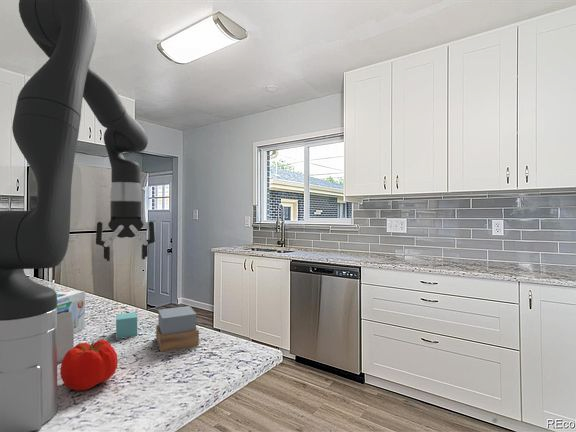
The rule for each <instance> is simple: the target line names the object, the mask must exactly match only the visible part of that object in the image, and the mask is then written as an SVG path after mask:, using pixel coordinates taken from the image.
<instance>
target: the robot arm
mask: <svg viewBox="0 0 576 432" xmlns="http://www.w3.org/2000/svg"><path fill="white" fill-rule="evenodd" d="M18 12H19V16H20V20H21V22H22V24H23V26H24V28H25V29H26V31H27V33H28V34H29V35H30V37H31V38H32V40H33V41H34V42H35V44H36V45H37V46H38V47H39V48H40V50H42V52H43V53H44V54H45V55H46V57H47V58H49V59H48V60H46V62H45V63H44V64H43V65H42V66H41V67H40V68H39V69H38V70H37V71H36V72H34V74H33V75H32V76H31V77H30V78H29V79H28V80H27V81H26V82H25V84H24V86H23V87H22V88H21V90H20V91H19V93H18V96H17V99H16V104H15V109H14V115H13V119H12V127H11V128H12V130H11V131H12V135H13V138H14V141H15V143H16V145H17V147H18V149H19V152H21V154H22V156H23V157H24V158H25V160H26V162H27V163H28V165H29V168H30V169H31V171H32V172H33V175H34V177H35V180H36V181H35V182H36V186H37V187H36V188H37V189H36V191H37V194H36V195H37V196H36V205H35V209H34V210H0V432H33V431H38V430H41V429H42V426H43V425H45V424H46V422H48V421H49V420H51V419H52V418H53V417H54V416H55V415H56V413H58V362H57V294H56V293H57V292H56V290H55V289H54V288H51V287H48V286H46V285H43V284H39V283H38V282H35V281H34V280H32V279H31V278H29V277H28V276H27V275H26V273H25V270H35V269H37V270H38V269H39V270H41V269H42V270H43V269H52V268H56V267H57V266H59V265H60V264H61V263H62V262H63V260H64V259H65V256H66V253H67V252H68V247H69V241H70V231H71V211H72V209H71V207H72V205H71V204H72V203H71V202H72V201H71V200H72V181H73V172H74V165H75V157H76V151H77V144H78V140H79V139H78V138H79V133H80V127H81V119H82V108H83V99H84V101H85V102H86V104H87V106H88V107H89V108H90V110H91V112H92V113H93V115H94V117H95V118H96V119H97V121H98V122H99V124H100V125H101V126H102V127H104V128H105V131H104V133H103V142H104V146H105V148H106V149H105V150H106V153H107V155H108V159H109V164H110V167H111V184H110V185H111V187H110V192H109V193H110V194H109V195H110V197H109V199H110V205H109V206H110V214H109V215H110V220H109V221H108V222H104V221H98V222H97V223H96V234H95V235H96V236H95V244H96V245H98V246H101V247H103V258H104V260H106V262H110V259H111V257H110V256H111V253H110V251H111V249H110V248H111V246H110V245H111V243H112V242H113V241H114V240H115V239H116V237H117V238H122V239H123V238H134V237H136V238H137V239H138V240H139V241H140V242H141V244H142V245H141V260H146V258H147V257H148V253H149V252H148V249H149V248H148V246H149V245H150V244H151V245H152V244H154V243H155V242H156V239H155V238H156V237H155V225H154V224H155V223H154V221H152V220H149V221H143V219H142V189H141V165H140V164H139V162H136V161H133V160H129V159H128V160H127V159H125V156H124V155H123V154H124V153H142V152H144V150H146V149H147V147H148V143H149V142H148V141H149V140H148V135H147V133H146V131H145V129H144V128H143V127H142V125H141V123H139V122H138V121H137V119H135V118H134V117H133V116H132V114H130V113H129V112H128V111H127V110H126V107H125V105H124V102H123V101H122V100H121V97H120V96H119V93H118V92H117V91H116V89H115V88H114V86H112V84H110V82H108V81H107V79H105V78H103V76H101V75H100V74H98V73H97V72H96V71H95V70H93V69H92V68H91V67H90V63H91V59H92V57H93V56H92V55H93V53H94V49H95V44H96V41H97V39H96V38H97V19H96V16H95V12H94V9H93V6H92V5H91V3H90V1H89V0H19V1H18ZM143 226H144V227H145V229H146V230H148V237H149V238H147V239H146V238H145V237H144V236H143V234H142V233H141V232H140V231H141V230H142V228H143ZM107 227H109V229H110V230H111V231H112V233H111V234H110V236H108V238H107V239H106V240H103V239H102V237H103V236H102V235H103V231H105V230H106V228H107Z"/></svg>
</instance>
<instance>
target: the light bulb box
mask: <svg viewBox="0 0 576 432" xmlns="http://www.w3.org/2000/svg"><path fill="white" fill-rule="evenodd" d="M56 294H57V314H61V313H66V312H71V315H72V323H73V331H74V334H75V333H77V332H79V331H80V332H81V331H82V330H85V329H86V328H85V327H86V326H85V325H86V318H85V317H86V311H85V310H86V307H85V306H86V295H85V294H86V292H85V291H84V290H83V291H82V290H71V289H70V290H69V289H65V290H61V291H58V292H56Z"/></svg>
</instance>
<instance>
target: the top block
mask: <svg viewBox="0 0 576 432" xmlns="http://www.w3.org/2000/svg"><path fill="white" fill-rule="evenodd" d="M157 313H158V318H157V319H158V320H157V321H158V324H157V325H159V328H160V330H161V333H162V335H166V334H173V333H179V332H186V331H192V330H196V327H197V313H196V312H195V310H194V309H193V308H192V306H191V305H187V306H180V307H179V306H178V307H171V308H162V309H158V312H157Z"/></svg>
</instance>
